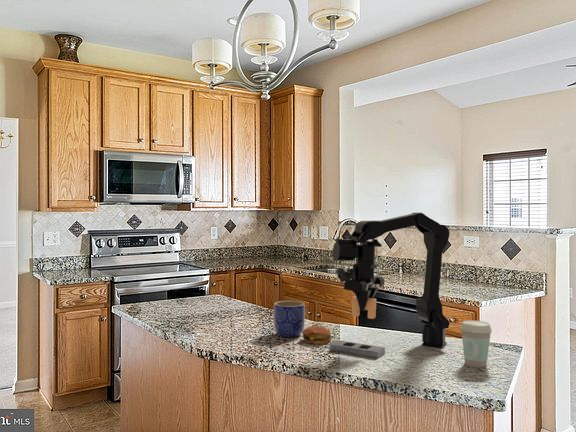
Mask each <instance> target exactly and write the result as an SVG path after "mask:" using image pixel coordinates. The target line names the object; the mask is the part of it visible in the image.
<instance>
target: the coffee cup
mask: <svg viewBox="0 0 576 432" xmlns="http://www.w3.org/2000/svg"><path fill="white" fill-rule="evenodd" d="M459 329H460V330H461V339H462V349H463V358H464V364H465V365H466V366H468V367H471V368H485V367H486V366H487V362H488V357H489V354H488V353H489V350H490V349H489V347H490V341H491V335H492V334H491V333H492V332H493V330H492V327H491V324H490V322H487V321H482V320H475V319H474V320H471V319H469V320H467V319H466V320H464V321H462V322H461V325H460V328H459Z"/></svg>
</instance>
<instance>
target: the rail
mask: <svg viewBox="0 0 576 432" xmlns="http://www.w3.org/2000/svg"><path fill="white" fill-rule="evenodd" d="M385 351H386V347H385V346H378V345H372V344H365V343H360V342H359V343H358V342H353V341H345V340H339V339H338V340H335V341H334V342H332V343H330V344H329V352H336V353H342V354H348V355H354V356H359V357H365V358H371V359H379V358H381V357H382V356H384V355H385V354H386V352H385Z"/></svg>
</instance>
